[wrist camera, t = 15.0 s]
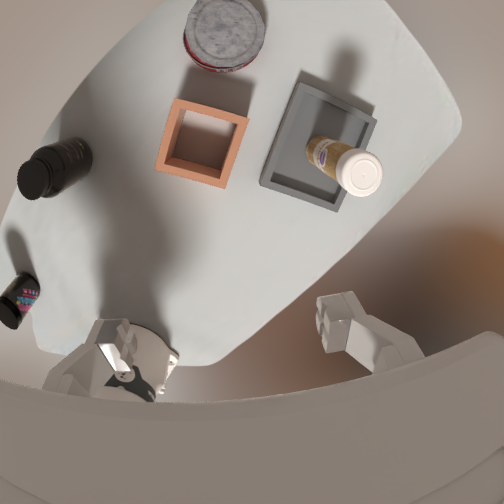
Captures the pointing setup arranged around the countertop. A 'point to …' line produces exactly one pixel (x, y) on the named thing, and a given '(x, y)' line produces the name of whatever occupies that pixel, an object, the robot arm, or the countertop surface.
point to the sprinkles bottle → (346, 165)
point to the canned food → (223, 34)
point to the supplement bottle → (54, 168)
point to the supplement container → (18, 299)
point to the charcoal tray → (299, 135)
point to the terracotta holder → (189, 168)
